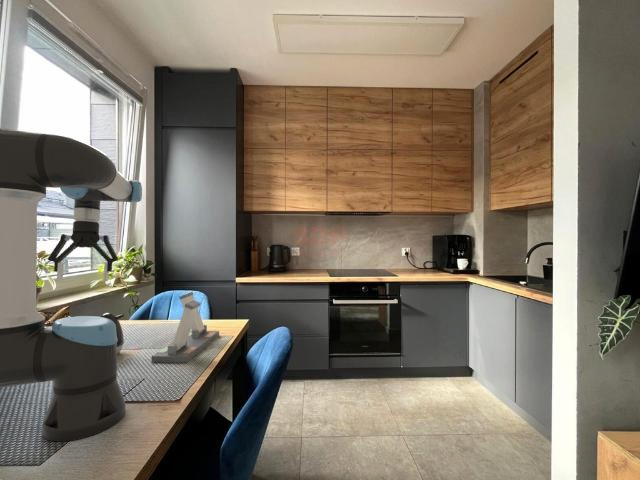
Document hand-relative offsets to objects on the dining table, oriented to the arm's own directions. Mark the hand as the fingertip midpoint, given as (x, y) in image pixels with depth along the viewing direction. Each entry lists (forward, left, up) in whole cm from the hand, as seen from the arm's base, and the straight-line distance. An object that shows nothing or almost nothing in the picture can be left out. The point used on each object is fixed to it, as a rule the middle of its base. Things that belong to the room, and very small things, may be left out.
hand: (83, 281), depth 112 cm
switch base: (-4, -35, -27) cm, 44 cm away
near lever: (-13, -30, -24) cm, 40 cm away
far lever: (+3, -39, -24) cm, 45 cm away
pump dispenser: (-2, -8, -27) cm, 28 cm away
